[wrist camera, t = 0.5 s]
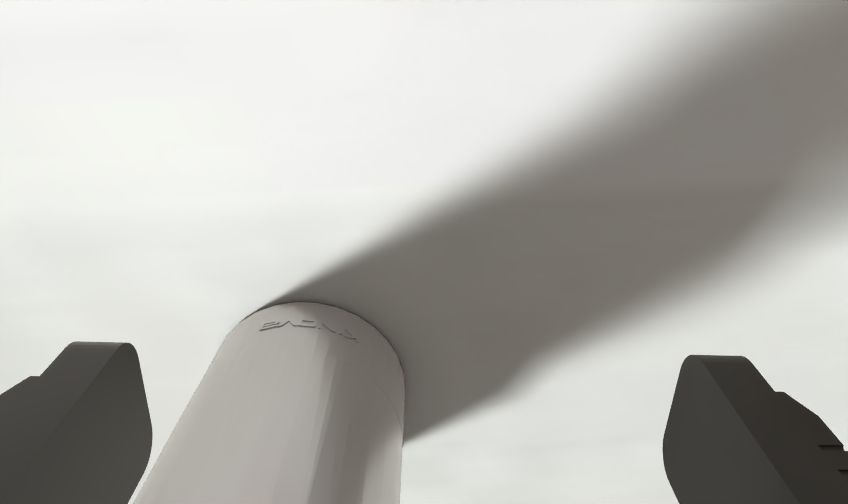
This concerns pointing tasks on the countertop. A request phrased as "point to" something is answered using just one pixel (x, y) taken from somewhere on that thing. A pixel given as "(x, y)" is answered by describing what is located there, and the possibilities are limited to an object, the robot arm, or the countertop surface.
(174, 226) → the countertop surface
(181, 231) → the countertop surface
